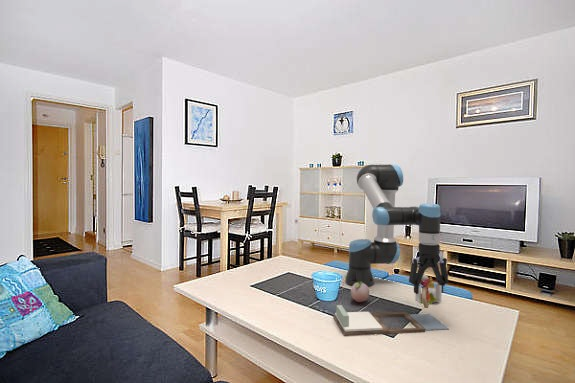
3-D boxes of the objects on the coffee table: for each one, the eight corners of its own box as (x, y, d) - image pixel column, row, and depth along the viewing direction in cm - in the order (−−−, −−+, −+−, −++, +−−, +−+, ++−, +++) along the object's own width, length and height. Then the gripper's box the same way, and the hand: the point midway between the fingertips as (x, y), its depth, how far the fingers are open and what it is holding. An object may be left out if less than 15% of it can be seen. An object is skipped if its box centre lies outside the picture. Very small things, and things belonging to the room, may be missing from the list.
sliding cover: (335, 314, 123) (335, 303, 123) (368, 313, 125) (368, 301, 125) (345, 331, 109) (345, 318, 109) (382, 329, 111) (382, 316, 111)
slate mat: (408, 315, 126) (408, 314, 126) (429, 314, 127) (429, 313, 127) (426, 330, 113) (426, 329, 113) (448, 329, 114) (448, 328, 114)
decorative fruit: (368, 307, 134) (368, 285, 133) (349, 305, 136) (349, 283, 136) (370, 300, 142) (370, 278, 142) (352, 297, 145) (352, 277, 145)
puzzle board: (333, 317, 124) (333, 315, 124) (405, 314, 127) (405, 312, 127) (344, 336, 109) (344, 333, 109) (425, 332, 112) (425, 329, 112)
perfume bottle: (438, 306, 136) (438, 279, 135) (415, 301, 141) (415, 275, 141) (440, 300, 142) (440, 275, 142) (417, 296, 147) (418, 271, 147)
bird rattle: (435, 315, 116) (436, 298, 123) (434, 292, 112) (436, 276, 119) (417, 311, 119) (419, 295, 126) (416, 289, 115) (418, 274, 122)
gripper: (408, 245, 114) (408, 305, 115) (460, 244, 116) (459, 303, 117) (399, 241, 122) (398, 298, 122) (447, 241, 124) (447, 296, 124)
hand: (428, 301), depth 120 cm, fingers closed on bird rattle, 8 cm apart
